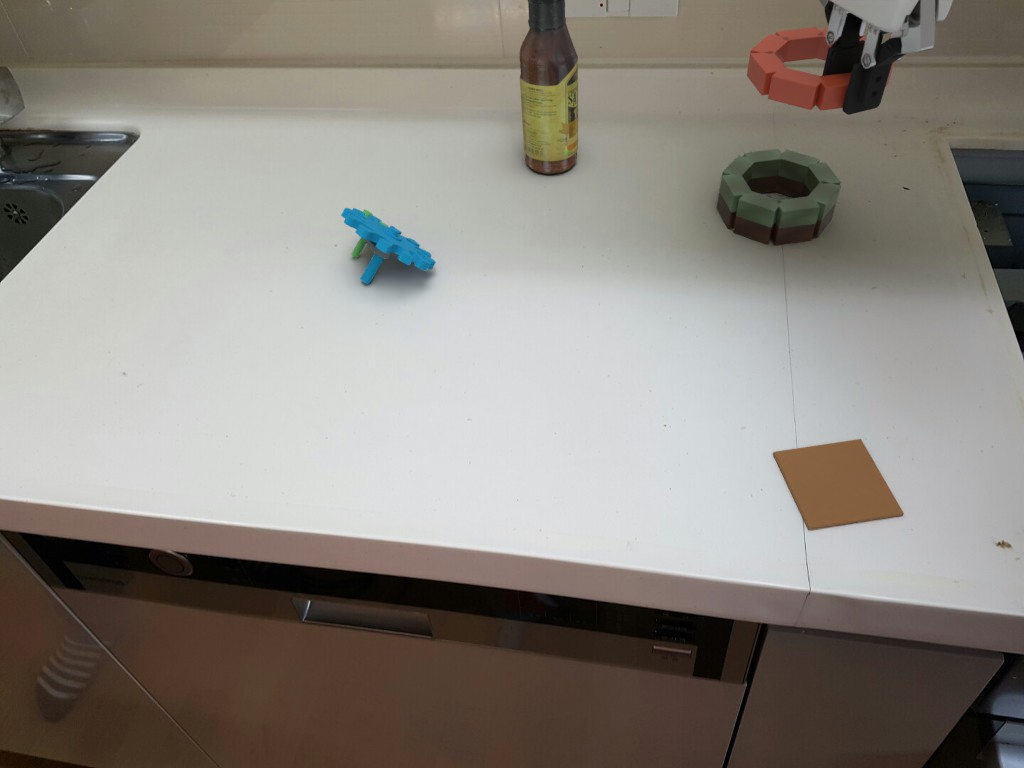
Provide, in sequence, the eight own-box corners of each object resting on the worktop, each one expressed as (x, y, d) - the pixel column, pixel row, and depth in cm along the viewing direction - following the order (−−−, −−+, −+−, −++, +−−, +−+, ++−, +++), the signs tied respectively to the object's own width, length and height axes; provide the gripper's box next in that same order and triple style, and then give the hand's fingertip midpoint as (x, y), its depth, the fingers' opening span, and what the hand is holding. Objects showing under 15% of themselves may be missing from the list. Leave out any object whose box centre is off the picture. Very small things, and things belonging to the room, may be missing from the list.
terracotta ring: (850, 44, 72) (856, 21, 70) (908, 100, 64) (915, 76, 63) (732, 58, 71) (736, 36, 70) (776, 116, 64) (781, 92, 62)
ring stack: (803, 177, 86) (811, 144, 83) (846, 236, 79) (856, 202, 76) (706, 189, 86) (710, 157, 83) (739, 250, 78) (746, 216, 75)
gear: (454, 270, 76) (368, 229, 69) (422, 321, 77) (335, 285, 71) (412, 226, 84) (332, 185, 77) (385, 273, 85) (303, 237, 79)
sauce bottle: (581, 174, 89) (583, -9, 75) (526, 179, 89) (517, -4, 75) (574, 144, 94) (574, -34, 79) (522, 149, 94) (512, -29, 79)
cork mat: (860, 441, 61) (861, 438, 61) (902, 515, 56) (904, 513, 56) (772, 454, 61) (773, 451, 61) (808, 530, 56) (809, 528, 56)
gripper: (1063, -148, 47) (955, 136, 60) (887, -197, 57) (829, 53, 71) (957, -128, 45) (870, 158, 59) (798, -182, 56) (755, 70, 69)
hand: (848, 99), depth 64 cm, fingers closed on terracotta ring, 2 cm apart
